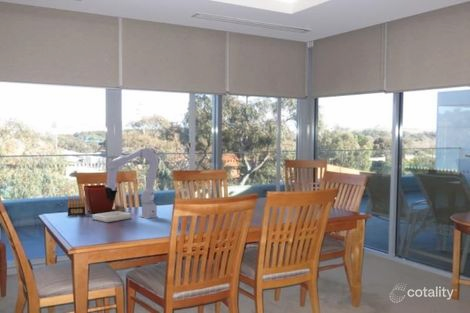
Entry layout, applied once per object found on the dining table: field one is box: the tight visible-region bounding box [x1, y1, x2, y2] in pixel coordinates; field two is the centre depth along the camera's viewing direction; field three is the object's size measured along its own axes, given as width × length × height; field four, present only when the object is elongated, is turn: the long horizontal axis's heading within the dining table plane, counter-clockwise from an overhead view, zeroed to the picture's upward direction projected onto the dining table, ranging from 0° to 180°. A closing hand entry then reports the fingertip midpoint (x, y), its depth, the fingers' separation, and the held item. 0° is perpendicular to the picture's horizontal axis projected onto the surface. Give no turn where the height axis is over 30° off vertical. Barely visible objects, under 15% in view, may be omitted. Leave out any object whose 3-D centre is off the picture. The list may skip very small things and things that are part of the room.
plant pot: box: [83, 184, 118, 213], centre depth 309 cm, size 19×19×17 cm
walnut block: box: [114, 204, 125, 212], centre depth 296 cm, size 4×4×6 cm
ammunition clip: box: [67, 195, 86, 216], centre depth 293 cm, size 11×2×12 cm, turn 110°
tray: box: [92, 211, 132, 223], centre depth 281 cm, size 14×18×3 cm
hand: (110, 199), depth 293 cm, fingers open, 7 cm apart
